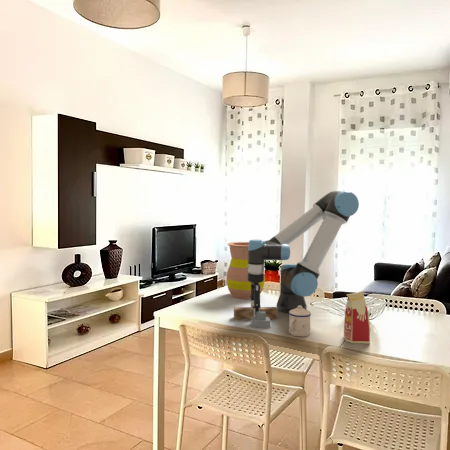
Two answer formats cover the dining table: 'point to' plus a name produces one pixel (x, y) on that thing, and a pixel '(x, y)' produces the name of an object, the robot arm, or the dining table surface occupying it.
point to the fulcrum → (260, 320)
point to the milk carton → (356, 319)
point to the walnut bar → (248, 312)
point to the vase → (240, 271)
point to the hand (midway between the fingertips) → (254, 317)
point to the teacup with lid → (299, 322)
